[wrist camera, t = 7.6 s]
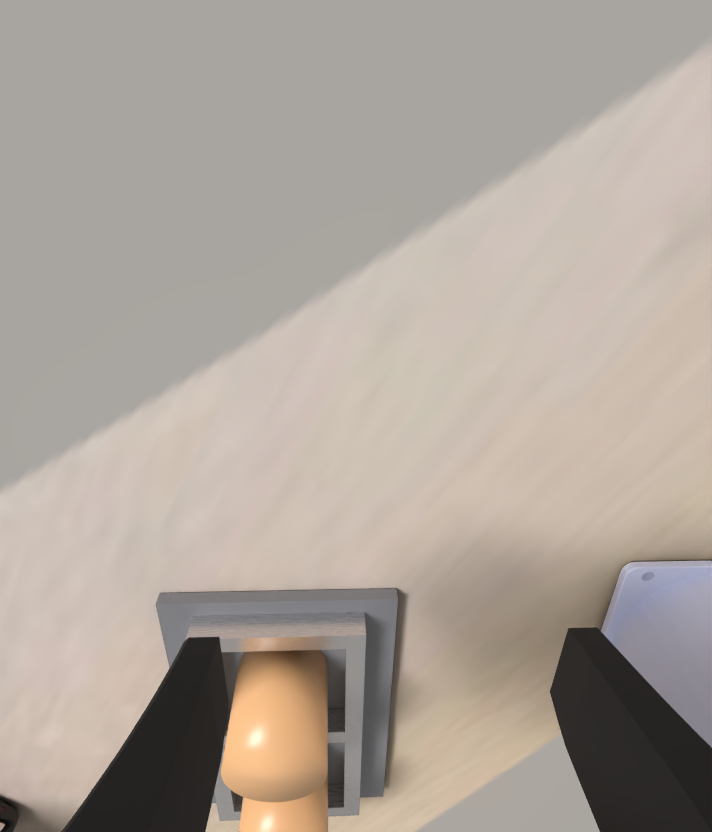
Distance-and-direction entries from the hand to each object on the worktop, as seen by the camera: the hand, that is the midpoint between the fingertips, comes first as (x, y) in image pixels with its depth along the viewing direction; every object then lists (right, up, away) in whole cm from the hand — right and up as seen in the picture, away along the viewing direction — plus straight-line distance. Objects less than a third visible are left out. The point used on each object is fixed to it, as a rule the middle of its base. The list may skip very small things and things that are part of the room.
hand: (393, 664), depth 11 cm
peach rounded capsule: (-4, -6, +13) cm, 15 cm away
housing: (-4, -9, +15) cm, 18 cm away
